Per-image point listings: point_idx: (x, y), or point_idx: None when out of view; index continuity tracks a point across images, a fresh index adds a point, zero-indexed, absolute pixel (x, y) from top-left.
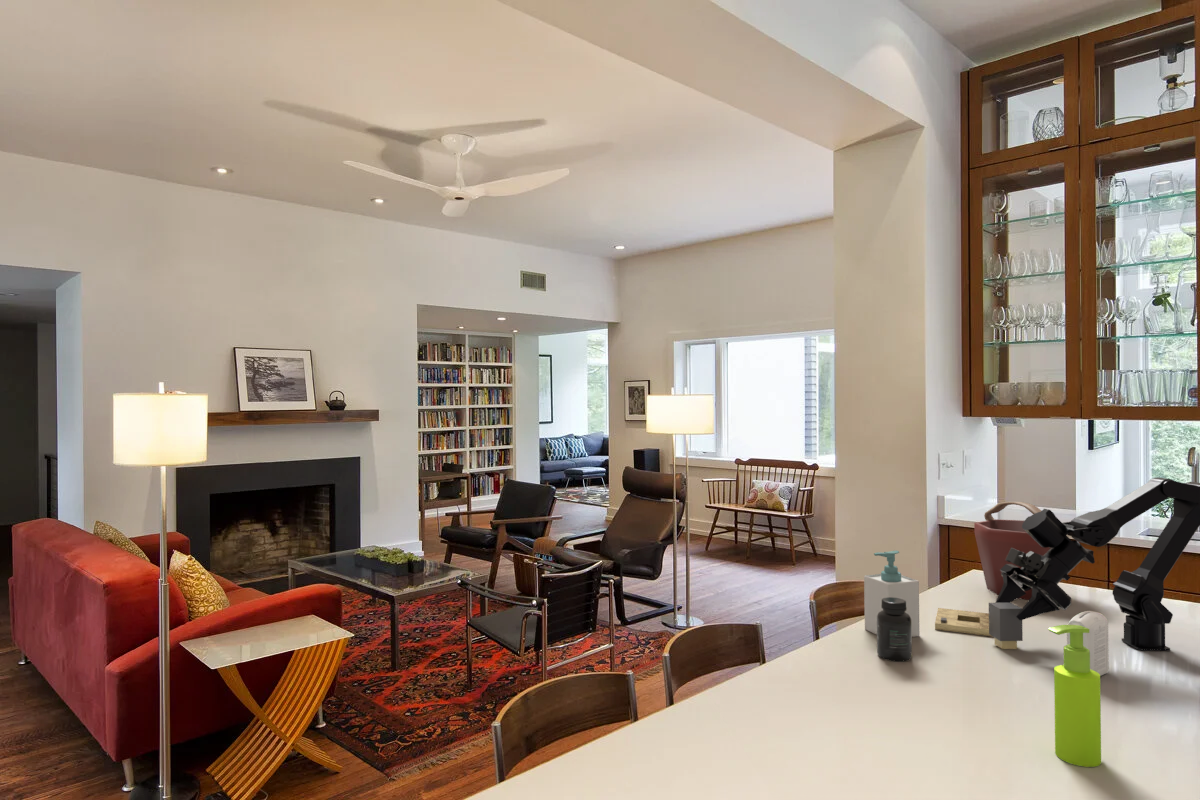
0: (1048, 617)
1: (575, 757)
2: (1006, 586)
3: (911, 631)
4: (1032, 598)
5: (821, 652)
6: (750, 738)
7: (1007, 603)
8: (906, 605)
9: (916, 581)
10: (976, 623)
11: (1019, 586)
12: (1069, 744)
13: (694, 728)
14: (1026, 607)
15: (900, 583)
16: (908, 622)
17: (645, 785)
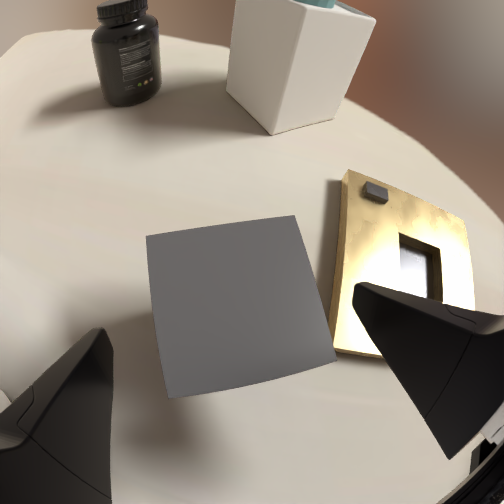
0: None
1: (34, 34)
2: (468, 331)
3: (109, 64)
4: (9, 432)
5: (160, 44)
6: (12, 62)
7: (304, 333)
8: (260, 48)
9: (296, 4)
10: (391, 279)
11: (488, 425)
12: None
13: (35, 44)
14: (43, 375)
15: None
16: (93, 44)
17: (2, 56)
